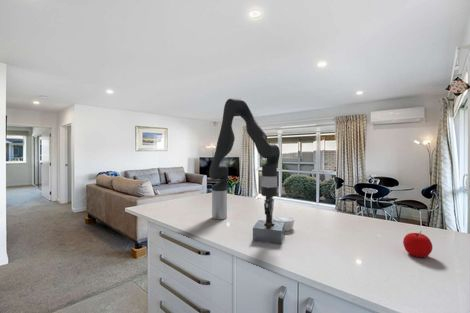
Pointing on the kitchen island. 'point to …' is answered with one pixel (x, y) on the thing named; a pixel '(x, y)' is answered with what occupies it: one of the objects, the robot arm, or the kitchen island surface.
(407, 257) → the kitchen island surface
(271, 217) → the walnut peg
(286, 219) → the ramekin
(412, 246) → the fruit
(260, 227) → the hole block
